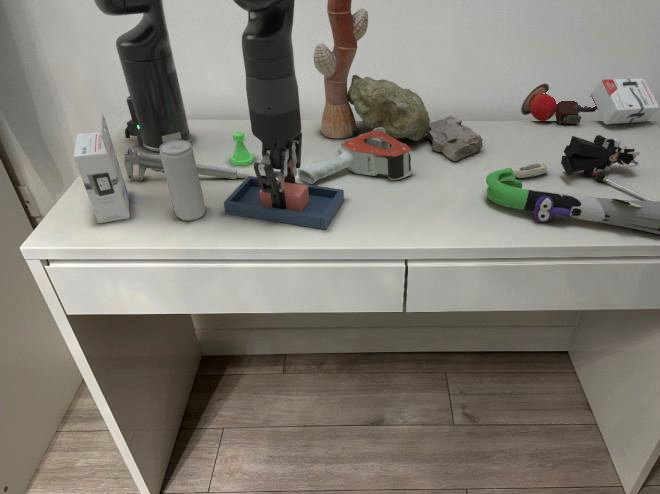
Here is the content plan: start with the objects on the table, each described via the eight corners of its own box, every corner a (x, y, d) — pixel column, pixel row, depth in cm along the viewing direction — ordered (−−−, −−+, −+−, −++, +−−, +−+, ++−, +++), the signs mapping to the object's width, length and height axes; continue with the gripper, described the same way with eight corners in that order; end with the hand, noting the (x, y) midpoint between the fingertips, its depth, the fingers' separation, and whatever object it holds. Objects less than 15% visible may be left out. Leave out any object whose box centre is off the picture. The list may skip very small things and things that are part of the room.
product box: (98, 198, 94) (68, 115, 85) (129, 194, 96) (103, 111, 86) (97, 224, 88) (65, 137, 79) (130, 219, 89) (102, 132, 80)
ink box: (603, 78, 119) (644, 77, 123) (589, 94, 123) (630, 92, 127) (618, 109, 116) (661, 108, 120) (604, 125, 120) (645, 122, 124)
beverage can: (179, 207, 93) (162, 139, 85) (208, 206, 93) (194, 139, 85) (173, 222, 89) (155, 153, 81) (203, 221, 89) (188, 152, 82)
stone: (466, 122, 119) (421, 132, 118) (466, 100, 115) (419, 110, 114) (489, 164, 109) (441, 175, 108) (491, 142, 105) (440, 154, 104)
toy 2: (627, 177, 85) (704, 175, 89) (562, 129, 100) (631, 130, 104) (610, 220, 90) (684, 216, 94) (550, 168, 105) (617, 167, 109)
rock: (404, 66, 121) (339, 83, 120) (423, 52, 103) (346, 71, 102) (420, 137, 126) (356, 153, 124) (441, 135, 107) (367, 154, 106)
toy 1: (669, 243, 87) (479, 217, 92) (660, 207, 95) (486, 185, 100) (683, 211, 83) (483, 185, 88) (673, 175, 91) (490, 154, 96)
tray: (225, 213, 91) (223, 202, 90) (250, 186, 98) (248, 175, 97) (325, 229, 88) (325, 218, 87) (344, 200, 95) (343, 189, 94)
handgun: (664, 129, 123) (638, 103, 134) (669, 117, 121) (643, 91, 132) (557, 126, 121) (540, 99, 133) (560, 113, 120) (543, 87, 131)
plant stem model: (317, 138, 114) (307, -26, 95) (319, 124, 119) (309, -34, 100) (368, 138, 114) (368, -26, 95) (367, 124, 120) (367, -33, 101)
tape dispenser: (296, 192, 100) (405, 198, 96) (291, 166, 96) (404, 171, 93) (323, 146, 113) (420, 150, 109) (320, 122, 109) (419, 125, 106)
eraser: (300, 213, 90) (299, 197, 89) (261, 207, 92) (259, 191, 90) (309, 201, 93) (308, 185, 92) (271, 195, 95) (269, 179, 93)
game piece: (258, 158, 107) (254, 129, 103) (244, 167, 104) (239, 137, 100) (241, 153, 108) (236, 124, 104) (226, 162, 105) (221, 132, 102)
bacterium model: (504, 179, 98) (488, 169, 102) (503, 188, 99) (487, 178, 103) (557, 167, 102) (540, 158, 105) (556, 176, 103) (539, 167, 106)
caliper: (129, 181, 99) (119, 148, 95) (130, 178, 100) (121, 146, 96) (244, 179, 100) (238, 147, 96) (244, 176, 101) (239, 144, 97)
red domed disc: (550, 91, 126) (570, 108, 123) (524, 118, 128) (543, 135, 125) (542, 75, 119) (563, 93, 116) (515, 104, 121) (535, 122, 118)
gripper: (278, 124, 76) (289, 229, 87) (314, 89, 86) (320, 186, 97) (228, 117, 77) (245, 221, 88) (270, 84, 88) (281, 180, 99)
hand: (285, 202), depth 93 cm, fingers closed on eraser, 4 cm apart
